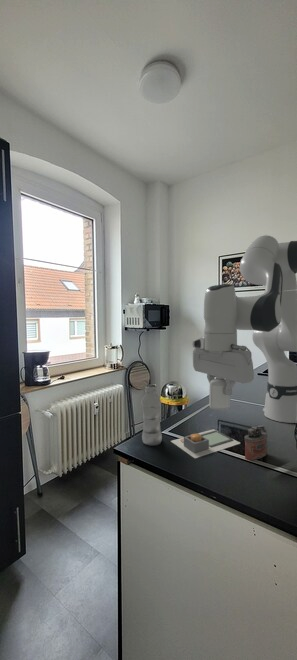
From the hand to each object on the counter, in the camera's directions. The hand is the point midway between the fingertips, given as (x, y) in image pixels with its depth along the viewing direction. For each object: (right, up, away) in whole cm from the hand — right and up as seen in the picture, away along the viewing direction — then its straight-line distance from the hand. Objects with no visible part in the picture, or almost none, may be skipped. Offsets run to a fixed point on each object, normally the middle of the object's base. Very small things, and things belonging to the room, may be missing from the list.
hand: (220, 392), depth 76 cm
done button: (-5, -18, +11) cm, 22 cm away
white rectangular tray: (-1, -21, +14) cm, 25 cm away
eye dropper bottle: (0, -5, +1) cm, 5 cm away
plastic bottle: (-19, -21, +16) cm, 33 cm away
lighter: (+12, -22, +5) cm, 25 cm away
